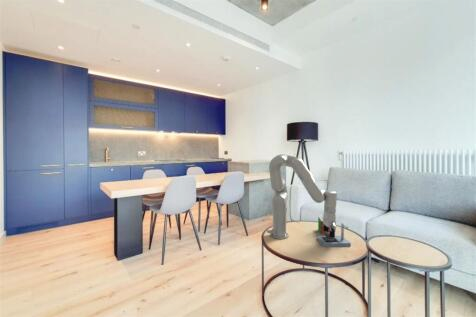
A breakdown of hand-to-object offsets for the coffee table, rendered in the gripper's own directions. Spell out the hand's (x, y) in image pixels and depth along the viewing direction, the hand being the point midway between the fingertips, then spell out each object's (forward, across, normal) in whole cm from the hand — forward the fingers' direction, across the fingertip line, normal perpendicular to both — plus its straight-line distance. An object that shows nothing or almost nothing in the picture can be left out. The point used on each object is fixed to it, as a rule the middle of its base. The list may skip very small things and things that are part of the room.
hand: (328, 233), depth 150 cm
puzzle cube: (+6, -18, +6) cm, 20 cm away
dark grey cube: (+6, 0, +1) cm, 6 cm away
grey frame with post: (+6, 0, +3) cm, 6 cm away
